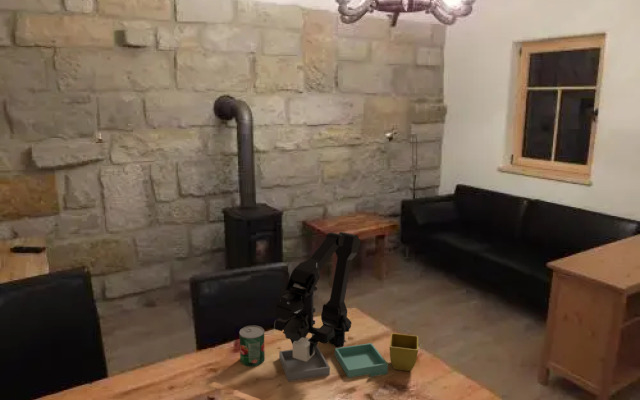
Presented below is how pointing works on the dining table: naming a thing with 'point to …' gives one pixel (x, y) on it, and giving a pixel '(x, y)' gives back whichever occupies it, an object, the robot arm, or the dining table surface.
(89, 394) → the dining table surface
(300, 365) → the charcoal bin
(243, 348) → the canned tomato
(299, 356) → the stone block
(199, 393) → the dining table surface
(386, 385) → the dining table surface
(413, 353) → the flower pot
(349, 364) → the teal bin
